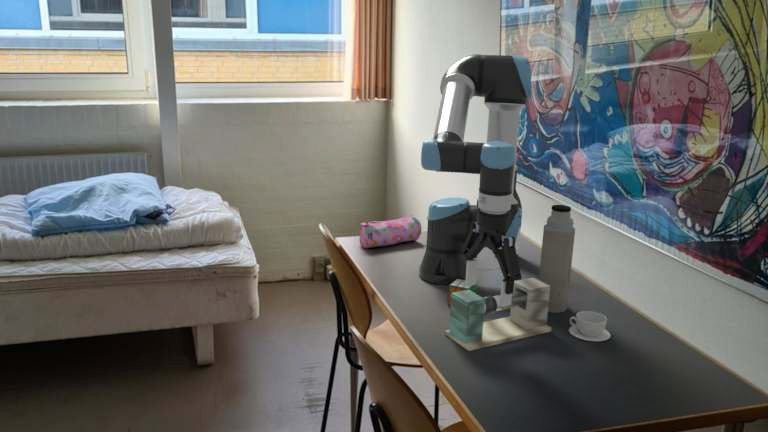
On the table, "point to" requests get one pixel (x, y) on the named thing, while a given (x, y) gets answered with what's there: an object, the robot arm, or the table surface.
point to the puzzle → (459, 288)
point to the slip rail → (518, 325)
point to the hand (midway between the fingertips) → (487, 295)
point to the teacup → (589, 326)
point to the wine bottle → (517, 207)
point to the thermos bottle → (557, 256)
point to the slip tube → (494, 305)
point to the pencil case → (389, 232)
